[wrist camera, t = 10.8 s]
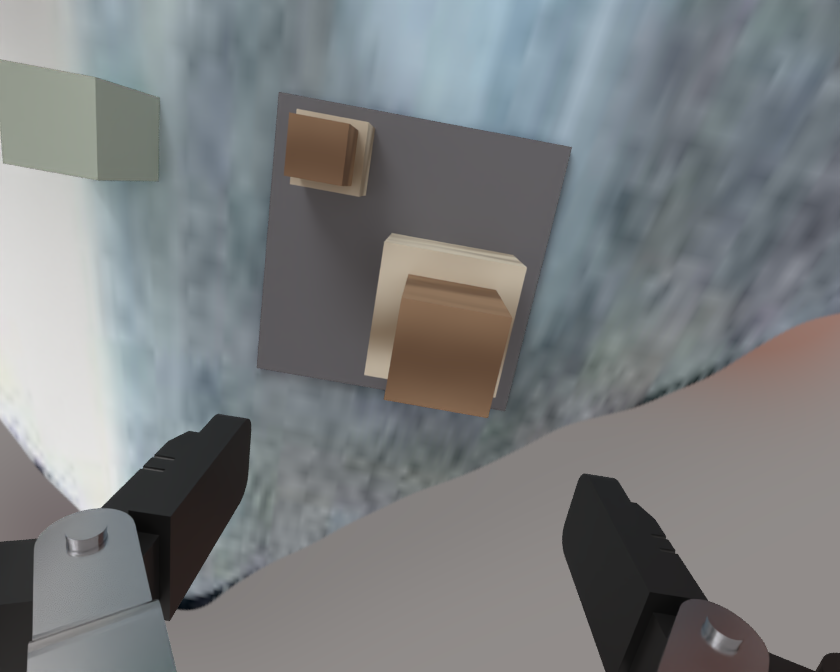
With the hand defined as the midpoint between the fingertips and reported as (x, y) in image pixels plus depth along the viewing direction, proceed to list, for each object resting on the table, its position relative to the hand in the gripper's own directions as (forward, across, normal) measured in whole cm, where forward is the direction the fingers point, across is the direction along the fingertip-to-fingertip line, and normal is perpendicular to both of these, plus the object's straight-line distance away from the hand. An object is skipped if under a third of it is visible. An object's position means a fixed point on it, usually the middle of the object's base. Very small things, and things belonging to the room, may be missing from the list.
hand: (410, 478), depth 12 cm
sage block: (+23, +21, -6) cm, 31 cm away
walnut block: (+17, -1, +1) cm, 17 cm away
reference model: (+22, +7, -7) cm, 24 cm away
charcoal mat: (+22, +2, -1) cm, 22 cm away
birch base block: (+22, -1, +1) cm, 22 cm away
